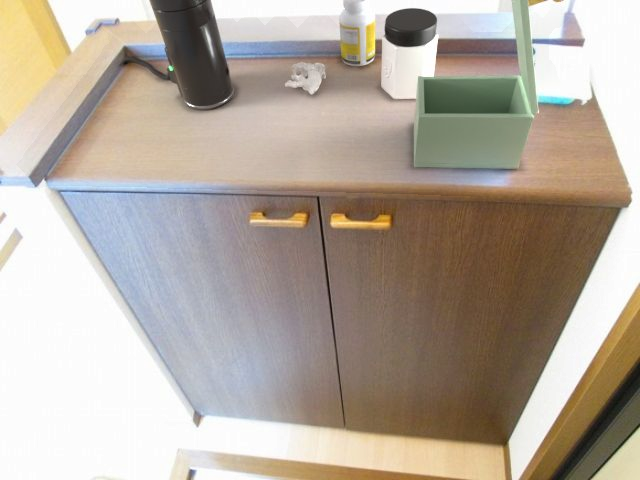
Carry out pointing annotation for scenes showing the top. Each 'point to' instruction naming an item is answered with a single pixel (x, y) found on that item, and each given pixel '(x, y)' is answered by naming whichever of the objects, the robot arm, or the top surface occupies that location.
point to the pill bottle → (357, 32)
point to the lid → (526, 48)
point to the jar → (408, 51)
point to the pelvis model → (314, 76)
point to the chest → (471, 121)
